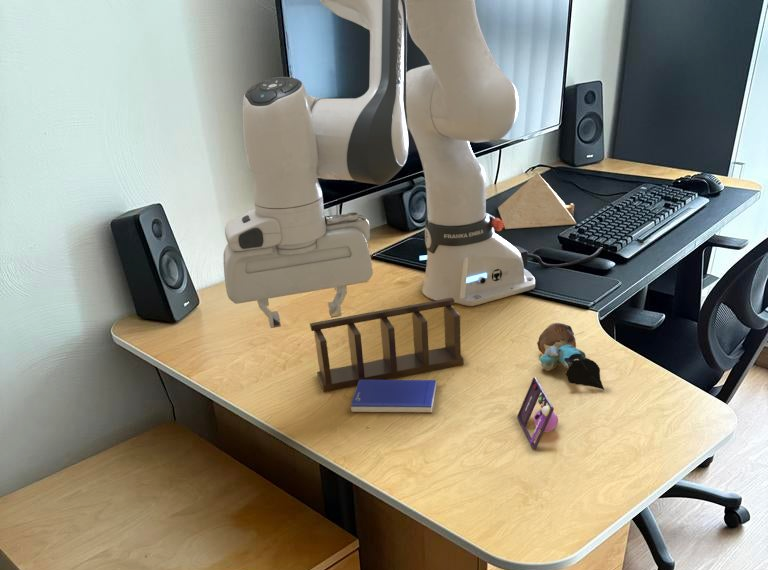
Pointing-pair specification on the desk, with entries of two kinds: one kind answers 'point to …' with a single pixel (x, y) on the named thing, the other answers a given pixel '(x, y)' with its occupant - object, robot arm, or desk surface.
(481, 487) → the desk surface
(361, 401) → the hard drive
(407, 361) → the letter rack
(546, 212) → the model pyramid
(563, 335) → the figurine
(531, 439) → the purple toy package
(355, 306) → the desk surface
